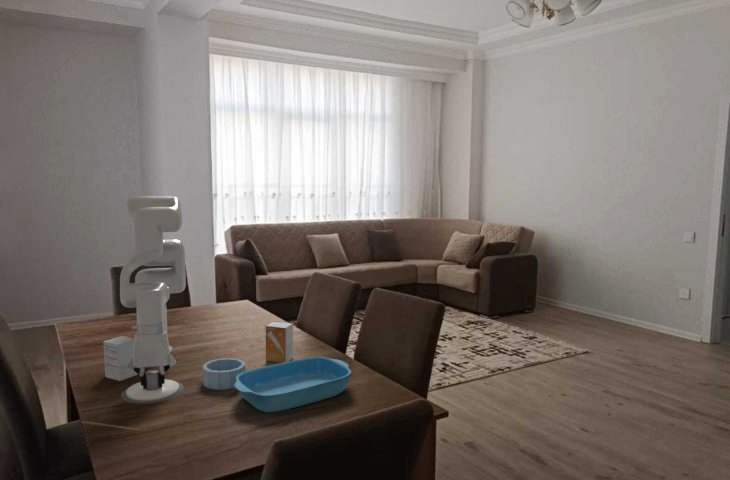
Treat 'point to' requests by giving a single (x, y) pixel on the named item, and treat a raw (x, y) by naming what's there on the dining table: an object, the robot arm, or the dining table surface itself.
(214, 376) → the bowl
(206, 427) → the dining table surface
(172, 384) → the lid
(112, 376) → the supplement box
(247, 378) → the casserole dish
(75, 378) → the dining table surface
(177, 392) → the mat
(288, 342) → the small box
